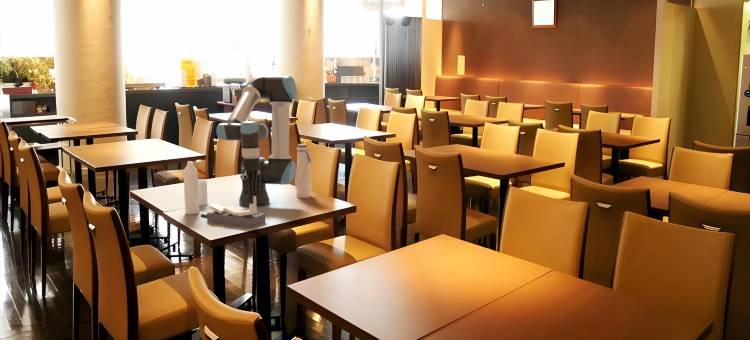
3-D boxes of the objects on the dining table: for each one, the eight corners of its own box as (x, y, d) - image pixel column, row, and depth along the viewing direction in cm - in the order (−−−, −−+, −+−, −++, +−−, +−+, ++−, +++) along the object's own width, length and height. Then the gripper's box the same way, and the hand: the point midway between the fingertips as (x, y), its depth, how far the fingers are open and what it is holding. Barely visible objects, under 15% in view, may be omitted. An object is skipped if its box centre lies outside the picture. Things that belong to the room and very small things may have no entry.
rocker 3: (245, 213, 274) (244, 210, 274) (257, 211, 271) (256, 208, 271) (237, 216, 270) (237, 213, 270) (250, 214, 267) (249, 211, 267)
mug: (181, 206, 304) (180, 182, 302) (198, 201, 315) (197, 178, 312) (194, 208, 301) (193, 184, 298) (210, 203, 311) (209, 180, 309)
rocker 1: (216, 205, 281) (217, 203, 281) (228, 211, 279) (228, 208, 278) (209, 208, 277) (209, 205, 276) (221, 213, 274) (221, 211, 274)
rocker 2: (230, 207, 278) (230, 205, 277) (242, 213, 275) (243, 210, 275) (223, 210, 273) (223, 207, 273) (235, 216, 271) (235, 213, 270)
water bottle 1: (188, 215, 287) (185, 163, 283) (183, 212, 292) (180, 161, 288) (206, 212, 293) (203, 161, 288) (200, 209, 298) (198, 159, 293)
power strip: (209, 213, 291) (208, 203, 290) (265, 222, 277) (264, 211, 276) (192, 219, 281) (192, 208, 280) (250, 228, 267) (249, 217, 266)
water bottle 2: (317, 196, 328) (316, 144, 323) (306, 199, 321) (305, 146, 316) (302, 193, 334) (301, 142, 328) (291, 196, 326) (290, 144, 321)
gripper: (253, 154, 272) (255, 206, 276) (234, 158, 261) (236, 212, 265) (266, 155, 269) (268, 208, 273) (248, 159, 257) (250, 214, 261)
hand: (253, 210), depth 269 cm, fingers closed
